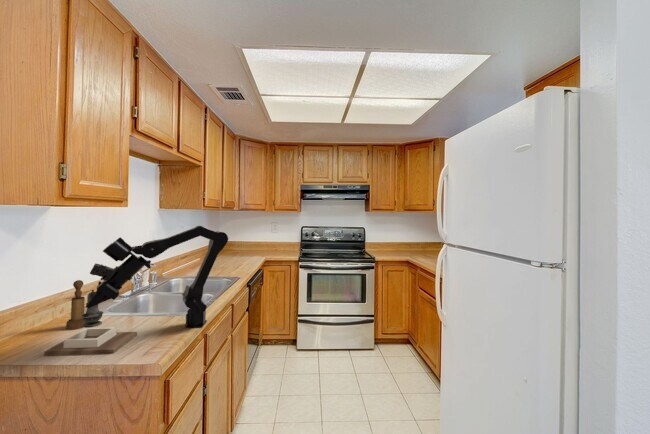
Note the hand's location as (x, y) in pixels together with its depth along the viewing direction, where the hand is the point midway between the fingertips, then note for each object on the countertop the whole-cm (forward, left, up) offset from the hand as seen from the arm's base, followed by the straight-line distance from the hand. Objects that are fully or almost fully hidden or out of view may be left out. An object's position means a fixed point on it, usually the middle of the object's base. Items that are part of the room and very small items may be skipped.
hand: (87, 305), depth 96 cm
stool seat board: (-2, 0, -13) cm, 13 cm away
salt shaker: (-1, -1, -7) cm, 7 cm away
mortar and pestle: (+15, -17, -13) cm, 27 cm away
